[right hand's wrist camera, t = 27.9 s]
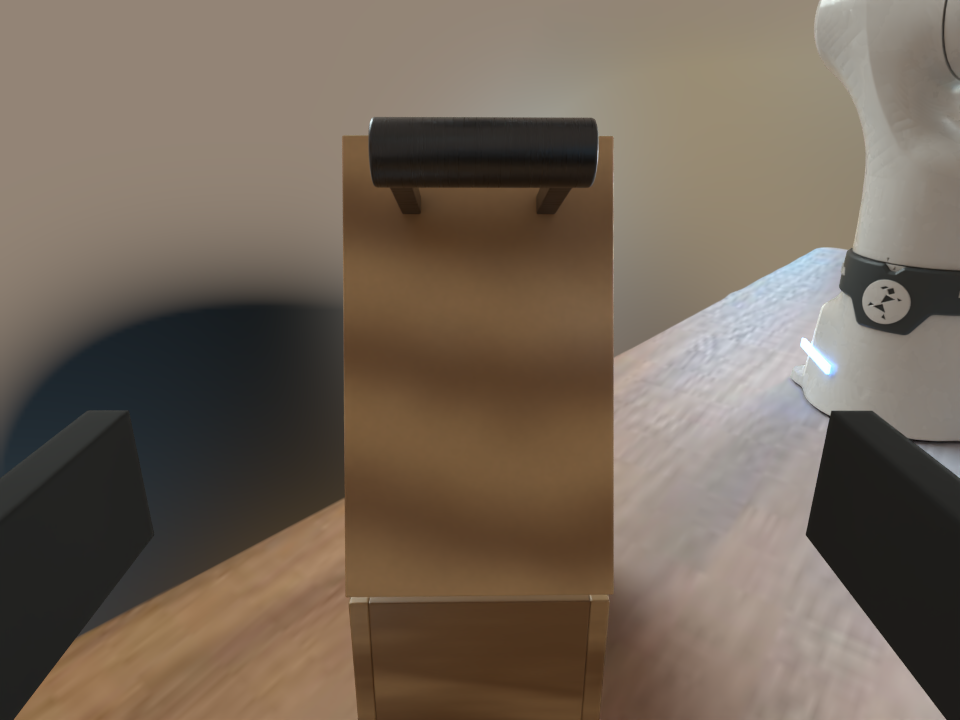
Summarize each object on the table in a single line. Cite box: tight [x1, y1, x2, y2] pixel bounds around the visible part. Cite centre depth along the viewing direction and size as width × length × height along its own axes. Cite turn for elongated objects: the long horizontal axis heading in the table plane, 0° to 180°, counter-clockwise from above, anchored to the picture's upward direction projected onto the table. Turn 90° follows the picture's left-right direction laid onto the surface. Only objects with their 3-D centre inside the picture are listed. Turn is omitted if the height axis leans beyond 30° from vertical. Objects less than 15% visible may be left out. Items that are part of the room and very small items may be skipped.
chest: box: [349, 595, 610, 720], centre depth 34 cm, size 16×10×9 cm, turn 1°
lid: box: [342, 117, 614, 597], centre depth 21 cm, size 17×10×8 cm
